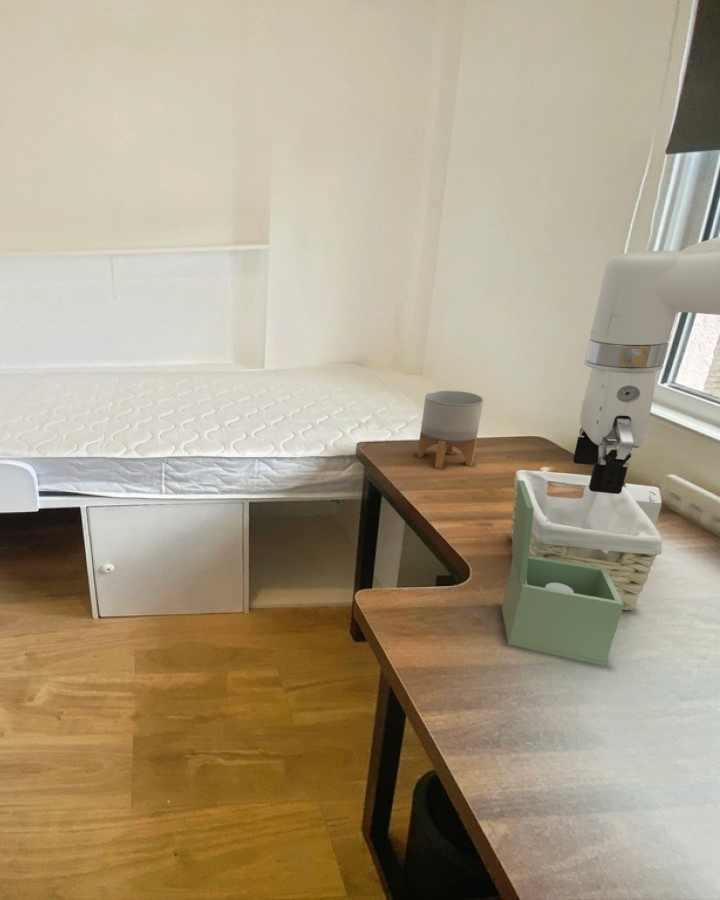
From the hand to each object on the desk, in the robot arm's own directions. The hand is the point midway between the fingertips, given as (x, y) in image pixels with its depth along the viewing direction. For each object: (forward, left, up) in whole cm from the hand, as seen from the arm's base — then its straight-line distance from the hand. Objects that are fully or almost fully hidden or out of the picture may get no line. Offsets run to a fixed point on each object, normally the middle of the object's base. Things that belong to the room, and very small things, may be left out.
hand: (595, 477), depth 76 cm
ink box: (-17, -34, -28) cm, 47 cm away
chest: (0, 0, -27) cm, 27 cm away
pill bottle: (0, 0, -27) cm, 27 cm away
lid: (+6, 0, -10) cm, 12 cm away
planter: (+13, -70, -28) cm, 76 cm away
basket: (-5, -21, -28) cm, 35 cm away
